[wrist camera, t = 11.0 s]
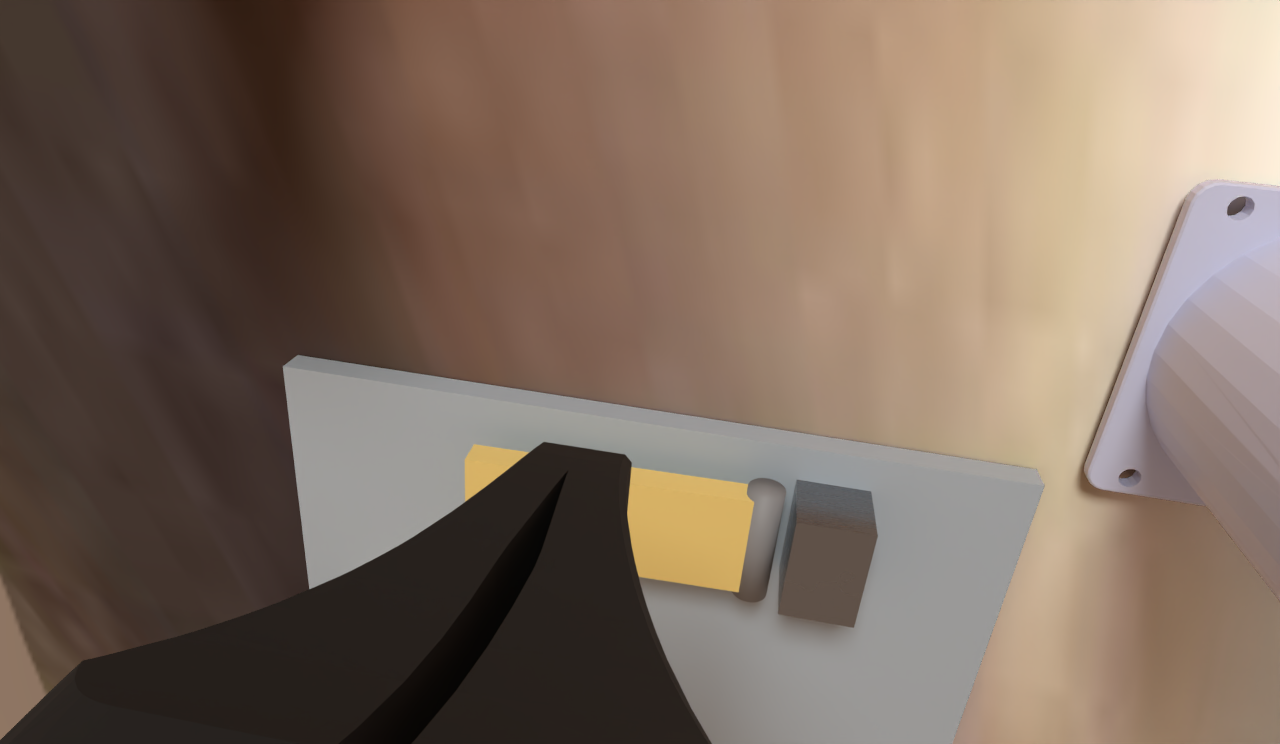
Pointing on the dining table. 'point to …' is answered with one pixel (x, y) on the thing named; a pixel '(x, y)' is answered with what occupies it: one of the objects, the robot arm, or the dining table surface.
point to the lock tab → (683, 524)
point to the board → (687, 614)
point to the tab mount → (826, 553)
